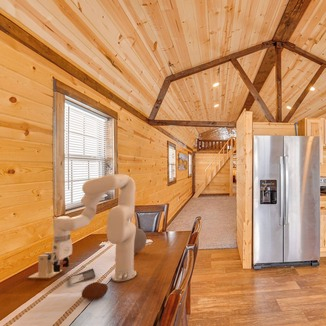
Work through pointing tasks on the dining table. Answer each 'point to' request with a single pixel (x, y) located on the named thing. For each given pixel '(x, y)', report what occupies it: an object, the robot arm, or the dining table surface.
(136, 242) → the planter
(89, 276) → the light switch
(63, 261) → the lever
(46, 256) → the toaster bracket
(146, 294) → the dining table surface
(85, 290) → the potato
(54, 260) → the robot arm
